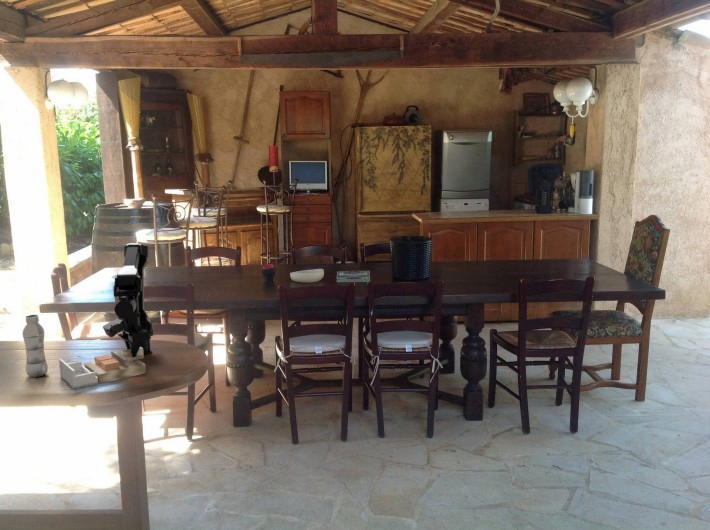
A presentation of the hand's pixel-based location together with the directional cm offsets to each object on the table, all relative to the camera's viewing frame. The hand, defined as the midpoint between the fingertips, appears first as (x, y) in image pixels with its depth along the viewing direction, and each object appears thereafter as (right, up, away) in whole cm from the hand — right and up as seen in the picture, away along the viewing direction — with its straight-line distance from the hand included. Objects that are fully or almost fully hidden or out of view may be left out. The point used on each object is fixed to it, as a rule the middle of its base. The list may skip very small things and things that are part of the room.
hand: (132, 355), depth 214 cm
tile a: (-8, -2, -3) cm, 9 cm away
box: (-13, -6, -10) cm, 18 cm away
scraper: (0, -1, 0) cm, 1 cm away
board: (-5, -5, -3) cm, 7 cm away
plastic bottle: (-29, -6, -6) cm, 30 cm away
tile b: (-5, -3, -7) cm, 9 cm away
